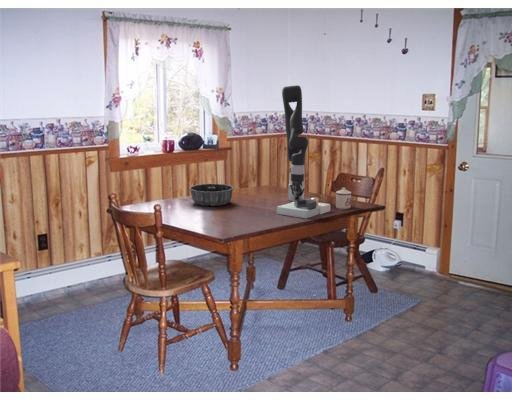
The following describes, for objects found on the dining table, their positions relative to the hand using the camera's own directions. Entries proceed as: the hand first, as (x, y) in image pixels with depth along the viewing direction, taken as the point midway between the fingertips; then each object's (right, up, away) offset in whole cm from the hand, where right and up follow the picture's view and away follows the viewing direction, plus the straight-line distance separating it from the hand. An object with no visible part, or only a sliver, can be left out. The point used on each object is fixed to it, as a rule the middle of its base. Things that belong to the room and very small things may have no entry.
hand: (296, 203), depth 347 cm
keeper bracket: (+8, -3, -8) cm, 11 cm away
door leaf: (0, -6, -2) cm, 7 cm away
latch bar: (+6, -1, -1) cm, 6 cm away
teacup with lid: (+29, -3, +18) cm, 34 cm away
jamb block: (+8, -4, +8) cm, 12 cm away
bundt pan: (-49, -1, +25) cm, 55 cm away
